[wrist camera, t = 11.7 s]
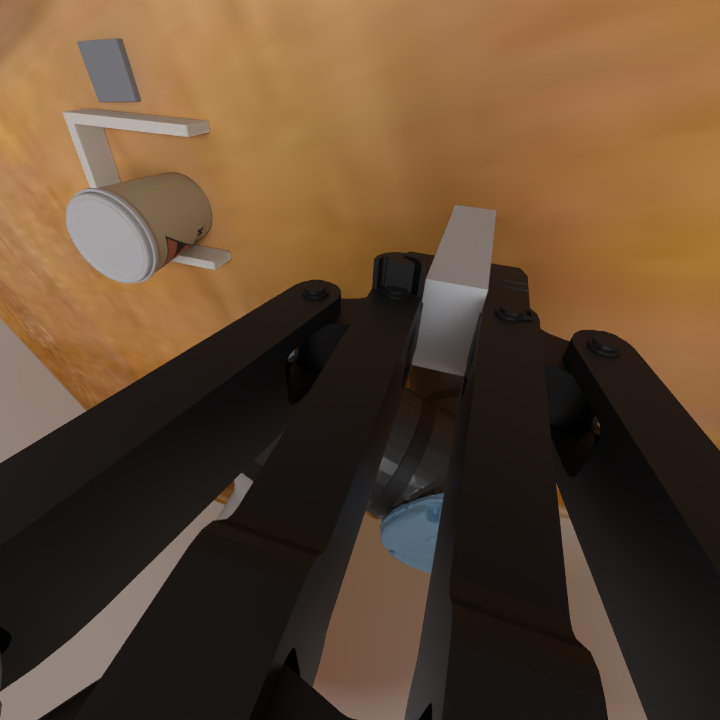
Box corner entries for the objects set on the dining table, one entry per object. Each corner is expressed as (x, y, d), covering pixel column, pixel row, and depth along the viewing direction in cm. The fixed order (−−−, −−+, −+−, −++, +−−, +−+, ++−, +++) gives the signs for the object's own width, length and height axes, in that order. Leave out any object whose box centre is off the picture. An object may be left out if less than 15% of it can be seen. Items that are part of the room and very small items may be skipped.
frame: (231, 258, 49) (215, 269, 46) (133, 240, 52) (113, 249, 49) (207, 120, 40) (186, 125, 37) (90, 108, 43) (62, 111, 40)
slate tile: (144, 100, 41) (136, 101, 40) (108, 101, 42) (99, 102, 41) (125, 39, 38) (116, 38, 37) (86, 42, 39) (76, 41, 38)
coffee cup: (184, 255, 51) (115, 297, 42) (134, 186, 47) (45, 216, 37) (233, 227, 46) (168, 267, 37) (182, 148, 42) (94, 172, 33)
